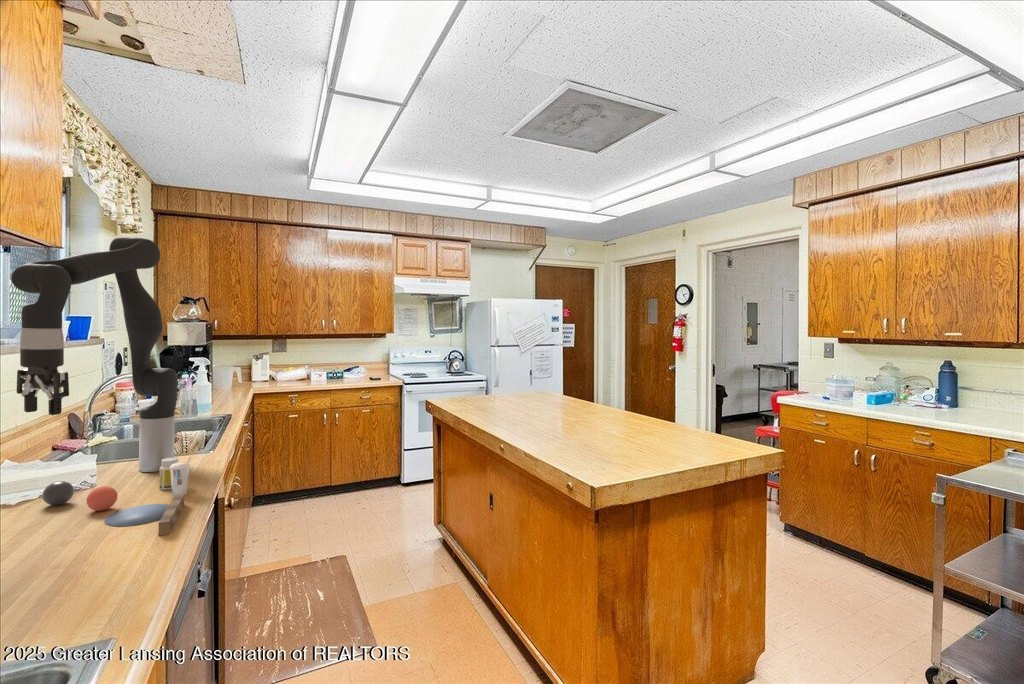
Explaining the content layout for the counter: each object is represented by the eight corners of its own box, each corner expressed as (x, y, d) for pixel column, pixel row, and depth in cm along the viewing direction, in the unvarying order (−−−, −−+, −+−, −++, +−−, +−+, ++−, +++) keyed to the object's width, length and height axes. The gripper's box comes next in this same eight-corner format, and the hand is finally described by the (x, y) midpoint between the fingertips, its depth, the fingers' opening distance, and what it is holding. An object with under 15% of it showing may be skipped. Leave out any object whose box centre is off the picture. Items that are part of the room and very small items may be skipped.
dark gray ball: (54, 500, 126) (54, 478, 126) (79, 500, 127) (80, 478, 127) (35, 509, 120) (35, 485, 120) (62, 508, 121) (62, 485, 121)
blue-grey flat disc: (128, 505, 125) (128, 504, 125) (186, 504, 127) (186, 503, 127) (89, 527, 111) (89, 526, 111) (155, 525, 113) (155, 524, 113)
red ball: (97, 506, 124) (97, 483, 123) (122, 505, 125) (123, 482, 124) (80, 514, 118) (80, 491, 118) (107, 514, 119) (107, 490, 118)
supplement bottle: (183, 485, 141) (183, 457, 141) (170, 490, 136) (170, 461, 136) (168, 484, 142) (168, 456, 141) (155, 489, 137) (155, 460, 137)
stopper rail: (175, 505, 126) (175, 494, 125) (184, 504, 126) (184, 493, 126) (158, 535, 108) (158, 522, 108) (169, 534, 108) (169, 521, 108)
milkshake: (195, 492, 136) (196, 457, 136) (177, 498, 131) (177, 462, 130) (184, 490, 137) (184, 455, 137) (165, 496, 132) (166, 460, 132)
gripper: (81, 347, 117) (81, 413, 117) (41, 345, 121) (41, 408, 121) (43, 349, 110) (44, 418, 110) (2, 346, 113) (3, 413, 114)
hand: (42, 413), depth 116 cm, fingers open, 8 cm apart
